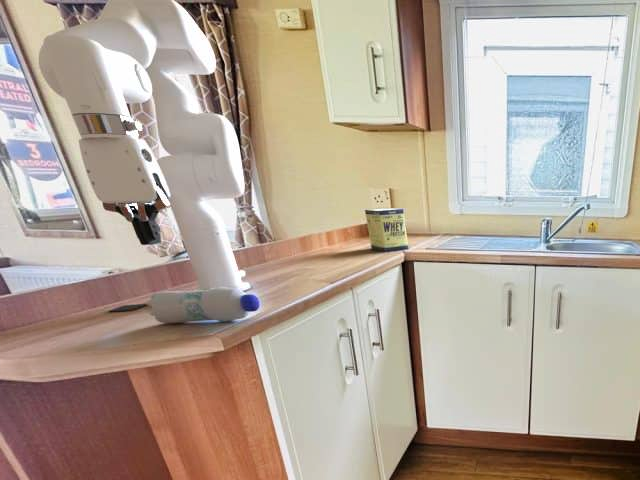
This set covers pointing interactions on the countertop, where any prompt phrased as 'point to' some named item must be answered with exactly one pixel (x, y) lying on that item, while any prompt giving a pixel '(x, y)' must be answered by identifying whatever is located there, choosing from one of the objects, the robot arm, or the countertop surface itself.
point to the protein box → (387, 229)
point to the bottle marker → (128, 308)
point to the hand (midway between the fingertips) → (151, 243)
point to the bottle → (202, 305)
